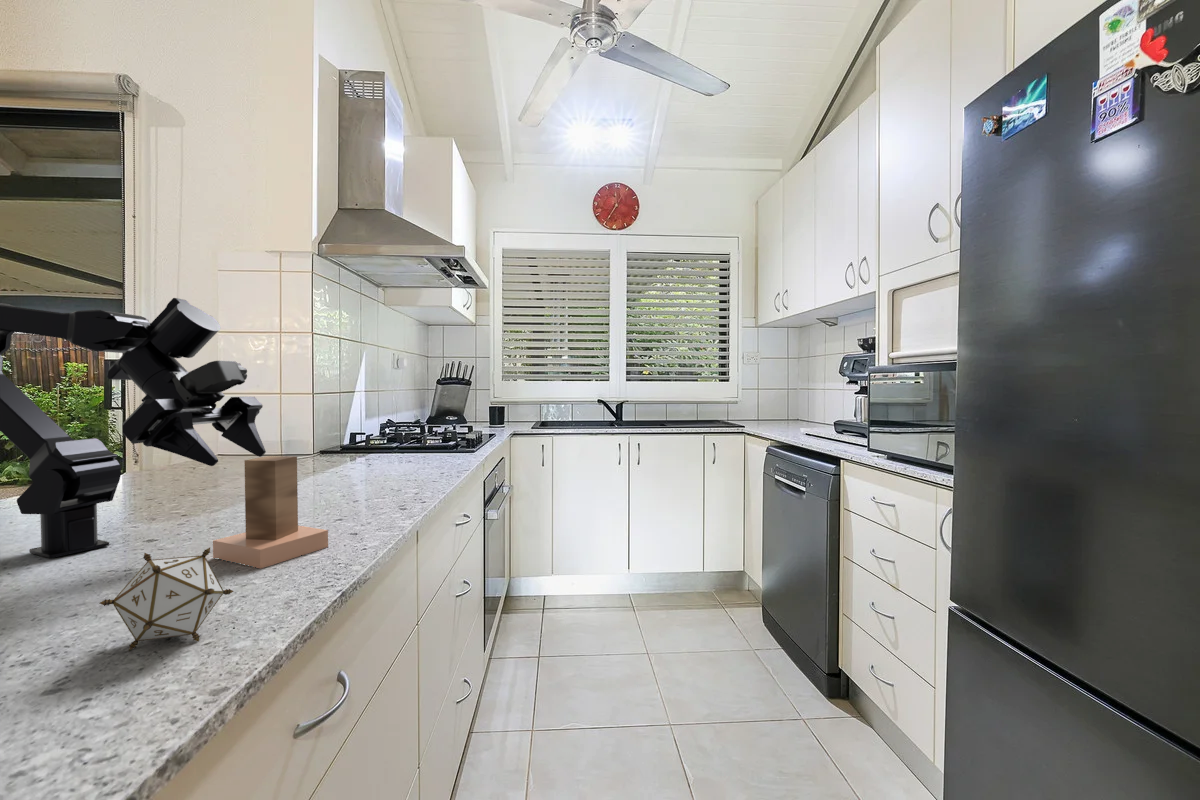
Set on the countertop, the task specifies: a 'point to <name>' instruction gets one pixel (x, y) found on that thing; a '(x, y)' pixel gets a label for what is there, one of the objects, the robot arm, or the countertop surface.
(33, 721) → the countertop surface
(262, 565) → the terracotta tile
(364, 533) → the countertop surface
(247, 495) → the walnut block
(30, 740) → the countertop surface
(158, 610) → the game die
